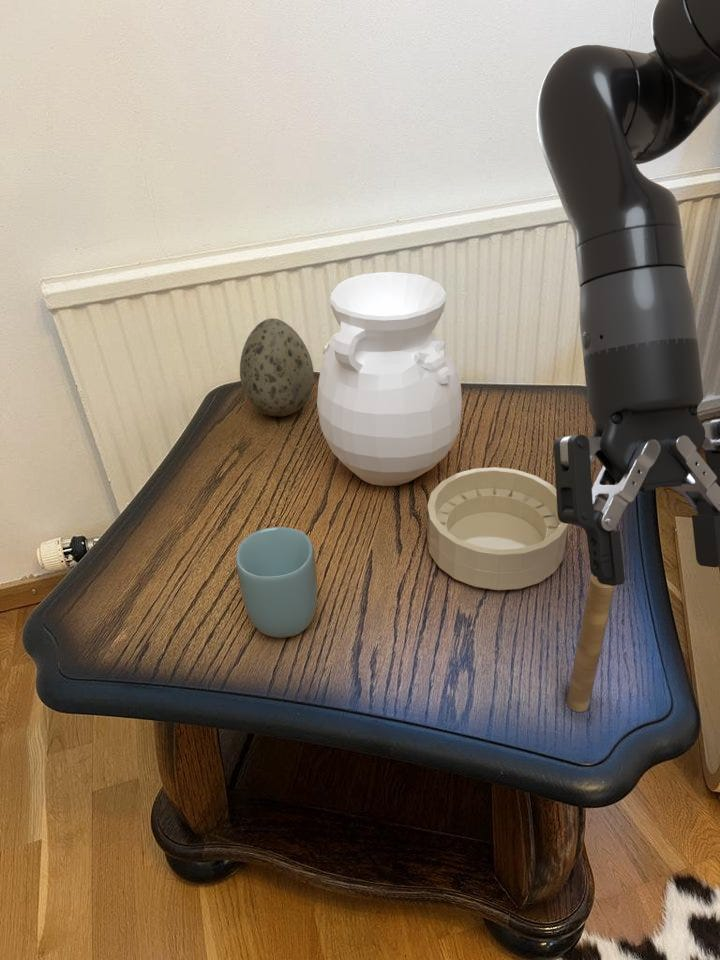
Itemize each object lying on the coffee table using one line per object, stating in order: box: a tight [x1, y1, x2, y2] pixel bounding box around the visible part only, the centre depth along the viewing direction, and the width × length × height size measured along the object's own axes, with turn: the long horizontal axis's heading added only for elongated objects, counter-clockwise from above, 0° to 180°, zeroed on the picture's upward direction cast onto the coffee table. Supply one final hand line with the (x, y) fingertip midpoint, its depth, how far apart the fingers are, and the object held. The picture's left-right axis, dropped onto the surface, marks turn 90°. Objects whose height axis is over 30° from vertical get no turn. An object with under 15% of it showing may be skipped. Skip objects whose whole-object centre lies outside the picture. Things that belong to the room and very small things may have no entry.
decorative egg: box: [239, 317, 315, 418], centre depth 111 cm, size 11×11×15 cm
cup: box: [235, 526, 318, 639], centre depth 78 cm, size 8×8×10 cm
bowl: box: [426, 466, 569, 591], centre depth 87 cm, size 16×16×6 cm
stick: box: [566, 573, 616, 713], centre depth 66 cm, size 2×2×16 cm
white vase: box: [316, 271, 463, 487], centre depth 95 cm, size 19×18×25 cm
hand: (663, 574), depth 53 cm, fingers open, 8 cm apart
